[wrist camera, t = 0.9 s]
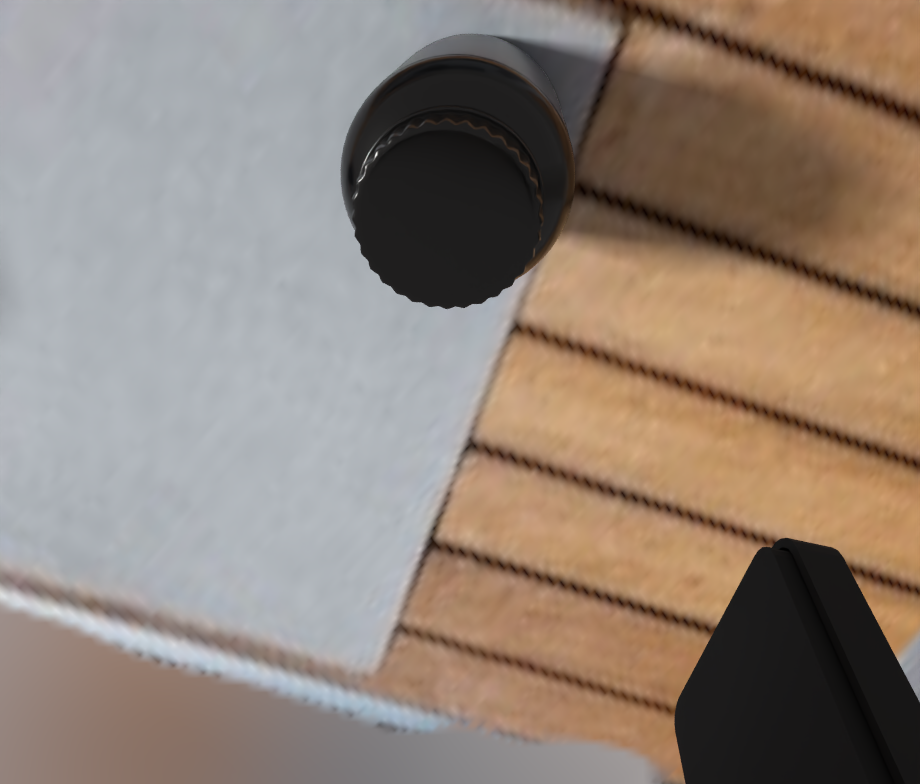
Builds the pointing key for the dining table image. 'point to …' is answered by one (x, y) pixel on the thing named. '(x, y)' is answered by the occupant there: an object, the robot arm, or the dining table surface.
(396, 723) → the dining table surface
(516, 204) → the supplement bottle
